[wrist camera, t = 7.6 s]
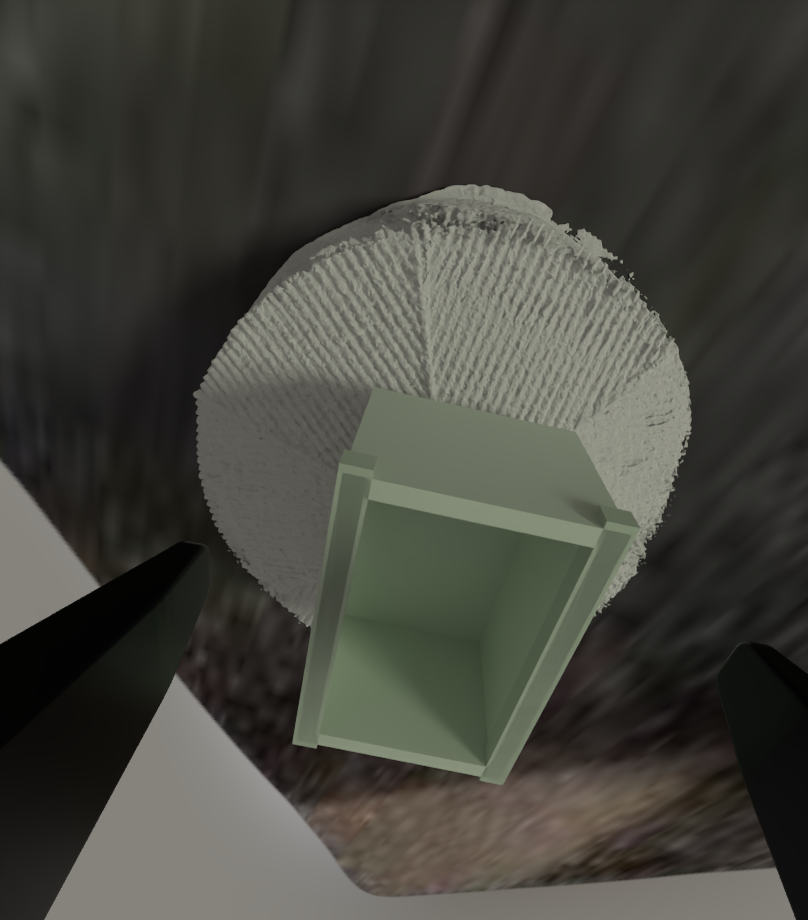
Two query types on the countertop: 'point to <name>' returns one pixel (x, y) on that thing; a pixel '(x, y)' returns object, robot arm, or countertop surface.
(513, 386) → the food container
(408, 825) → the countertop surface
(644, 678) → the countertop surface
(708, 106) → the countertop surface
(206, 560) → the robot arm
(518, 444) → the crate
